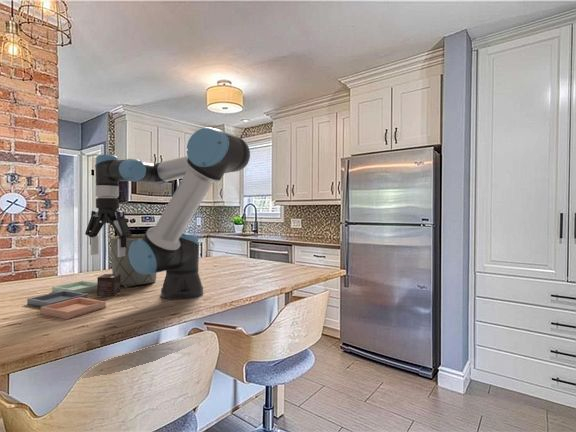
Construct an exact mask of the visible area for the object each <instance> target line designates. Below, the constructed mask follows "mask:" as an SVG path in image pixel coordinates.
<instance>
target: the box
mask: <svg viewBox="0 0 576 432" xmlns="http://www.w3.org/2000/svg"><path fill="white" fill-rule="evenodd" d="M120 275H121V274H113V273H104V274H102V275H100V276H97V277H96V278H97V281H96V282H97V290H96V293H97V298H106V297H107V298H113V297H114V298H115V297H116V296H118V295H119V294H121V292H122V291H121V287H122V285H121V276H120Z"/></svg>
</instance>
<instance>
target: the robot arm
mask: <svg viewBox="0 0 576 432" xmlns="http://www.w3.org/2000/svg"><path fill="white" fill-rule="evenodd" d="M186 149H187V150H186V156H183V157H177V158H174V159H170V160H169V159H168V160H164V161H161V162H157V163H156V162H155V163H153V162H152V163H150V162H145V161H142V160H140V159H138V158H125V159H120V158H119V157H118V156H117V155H113V154H99V155H97V156H96V158H95V164H94V165H95V166H94V167H95V197H97V198H96V199H95V208H96V209H97V210H91V212H90V213H91V214H90V219H89V221H88V225H87V227H86V230H85V235H86V236H88V238H89V246H90V256H95V255H99V253H100V252H99V250H100V249H99V235H98V234H99V233H100V231H101V229H102V228H103V226H104V225H105V224H109V225H111V227H112V228H113V230H114V231H115V232H116V235H117V236H119V238H118V257H122V256H125V247H126V238H127V237H130V236H132V233H131V230H130V228H129V225H128V222H127V219H126V217H125V211H124V210H118V209H119V208H120V199H119V197H120V183H119V182H132V183H133V182H135V183H147V184H154V185H166V184H168V183H169V182H170V181H175V180H179V179H181V180H180V182H179V184H178V185H177V188H176V189H175V192H174V193H173V195H172V196H171V198H170V200H169V201H168V203H167V205H166V206H165V208H164V210H163V212H162V214H161V215H160V218H159V219H158V221H157V222H156V224H155V226H153V227H149V228H148V229H147V230H146V232H145V233H144V234H143V235H144V237H143V239H138V240H135V241H133V242H132V243H131V245H130V247H129V253H128V254H129V261H130V263H131V266H132V267H133V269H134V270H135V271H136V272H138V273H139V274H143V275H146V274H154V273H156V274H158V273H161V272H166V273H165V277H164V281H163V284H162V287H161V289H160V296H161V297H162V298H164V299H167V300H168V299H169V300H186V299H194V298H197V297H200V296H202V295H203V294H204V287H203V284H202V281H201V277H200V273H199V259H200V258H199V254H200V253H199V250H200V247H199V246H200V244H199V243H200V242H199V237H198V236H197V234H194V233H193V234H192V233H184V231H185V230H186V228H187V227H188V225H189V224H190V222H191V220H192V218H193V216H194V214H196V211H197V210H198V209H199V207H200V205H201V203H202V202H203V200H204V199H205V197H206V195H207V194H208V191H209V190H210V188H211V186H212V185H213V183H216V182H220V181H221V180H222V178H223V176H224V175H225V174H228V173H235V172H236V173H237V172H240V171H242V170H244V169H245V168H246V166H247V165H248V164H249V161H250V159H251V150H250V148H249V145H248V143H247V142H246V140H244V139H243V138H241V137H239V136H237V135H233V134H230V133H228V132H226V131H224V130H221V129H220V128H219V129H218V128H215V127H214V128H213V127H202V128H199V129H197V130H196V131H194V132H193V133H192V135H191V136H190V137H189V139H188V142H187V143H186Z"/></svg>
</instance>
